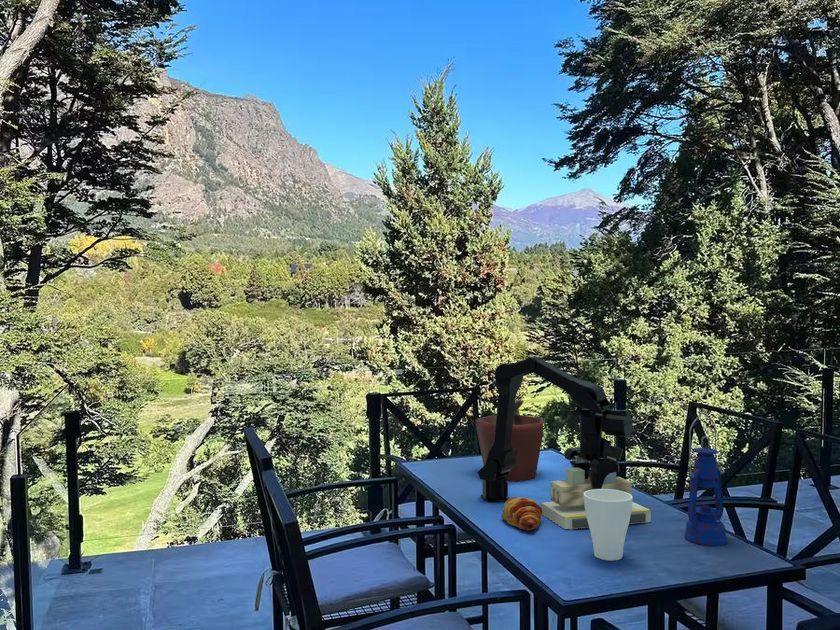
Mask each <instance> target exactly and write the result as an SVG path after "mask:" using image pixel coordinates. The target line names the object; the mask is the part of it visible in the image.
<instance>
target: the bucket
mask: <svg viewBox="0 0 840 630" xmlns="http://www.w3.org/2000/svg"><path fill="white" fill-rule="evenodd" d="M523 404H524V400H523V399H515V406H514V416H513V425H512V435H511V446H512V448H513V450H517V455H516V463H517V464H514V467H513V469H512V470H510V473H509V476H506V477H505V478H506V482H508V483H509V482H512V483H518V482H526V481H527V480H528V481H533V479H534V480H536V478H537V477H536V475H537V471H538V465H539V460H540V453H541V448H542V441H543V437H544V417H538V416H530V415H521V414H520V411H519V409H520V408H521V407H522V405H523ZM496 416H497V414H491V415H487V416H484V417H483V416H482V417H479V418H476V419H475V422H476V423H475V424H476V425H475V429H476V434H477V440H478V444H479V448H480V453H481V459H482V465H483V466H484V465H485V464H486V459H487V455H488V452H489V450H490V448H491V446H492V445H493V443H494V436H495V426H496Z"/></svg>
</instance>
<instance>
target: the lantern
mask: <svg viewBox="0 0 840 630" xmlns="http://www.w3.org/2000/svg"><path fill="white" fill-rule="evenodd" d="M702 415H704V416H705V417H706V418H708V419H709V421H711V423H712V424H713V427H714V448H710V446H711V445H710V444H711V443H710V442H711V440H710V437H709V436H707V435H704V436H702V437H701V440H700V442H701V447H696V448H693V451H694V453H696V456H697V459H695V460H694V465H693V467H694V469H693V470H692V469H691V467H692V466H691V465H692V456H691V454H692V453H691V452H692V451H691V450H692V449H691V446H692V445H691V443H692V441H691V437H692V436H691V433H692V428H693V426H694V425H695V423H696V422H697V420H698V419H700V417H701V416H702ZM688 431H689V432H688V434H689V435H688V437H689V439H688V458H689V459H688V460H689V461H688V462H689V463H688V464H689V465H688V466H689V472H688V473H689V478H690V484H689V494H688V495H689V496H688V505H687V517H688V520H687V521H686V524H685V531H684V536H683V537H684V538H685V540H686V541H688V542H690V543H693V544H697V545H701V546H707V547H721V546H726V545H727V543H728V541H729V540H728V536H727V533H726V532H727V531H726V526H725V523H724V522H722V521H721V518H722V517H723V514H724V502H723V501H724V500H723V499H724V498H723V490H722V478H721V475H722V474H723V471H722V469H720V468H719V464H718V462H717V455H718V450H717V427H716V424H715V422H714V421H713V419H712V418H711V417H710V416H709V415H707V414H706V413H705V412H704V411H703V412H700V414H699V415H698V416H697V417H696V418H695V419H694V420H693V421H692V423H691V425H690V427H689V430H688ZM705 438H707V445H706V446H705V447H704V439H705ZM714 457H715V458H714ZM699 487H700V488H710V489H711V488H713V491H714V500H715V501H714V502H715V507H711V506H709V505H707V504H703V505H701V506H697V499H698V498H697V497H698V488H699Z"/></svg>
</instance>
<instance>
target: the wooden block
mask: <svg viewBox="0 0 840 630" xmlns="http://www.w3.org/2000/svg"><path fill="white" fill-rule="evenodd" d="M601 489H612V490H619V491H623V492H627V493H629V494H631V495H632V481H630V480H628V479H625V478H623V477H621V476H616V482H607V483H603V485H602V488H601ZM588 490H593V489H592V485H591V482H590V479H589V478H588V479H585V484H578V485H571V484H570V483H568V482H566V479H565V480H552V481H550V502H555V503H556V504H559V506H561V507H563V506H576V505H584V492H586V491H588Z"/></svg>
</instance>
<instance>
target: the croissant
mask: <svg viewBox="0 0 840 630" xmlns="http://www.w3.org/2000/svg"><path fill="white" fill-rule="evenodd" d="M501 519H503V520H504V521H506V523H508V525H510V526H513V527H517V528H518V529H520V530H524V531H531V530H535V529H538V528H539V525H540V523H541V520H542V508H541V505H540V504H539V503H538V502H537V501H536V500H532V499H530V498H528V497H511V498H508V500H507V501H504V505H503V509H502V513H501Z"/></svg>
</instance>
